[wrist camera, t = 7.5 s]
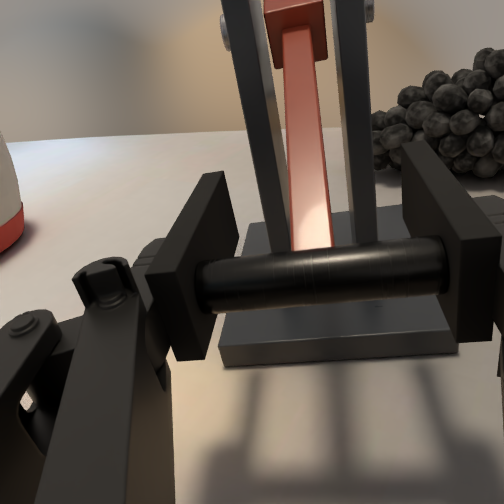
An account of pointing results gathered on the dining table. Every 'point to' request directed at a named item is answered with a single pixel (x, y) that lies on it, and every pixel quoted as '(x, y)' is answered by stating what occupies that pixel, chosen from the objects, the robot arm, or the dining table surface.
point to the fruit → (449, 118)
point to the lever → (314, 207)
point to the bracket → (344, 223)
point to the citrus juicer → (9, 200)
